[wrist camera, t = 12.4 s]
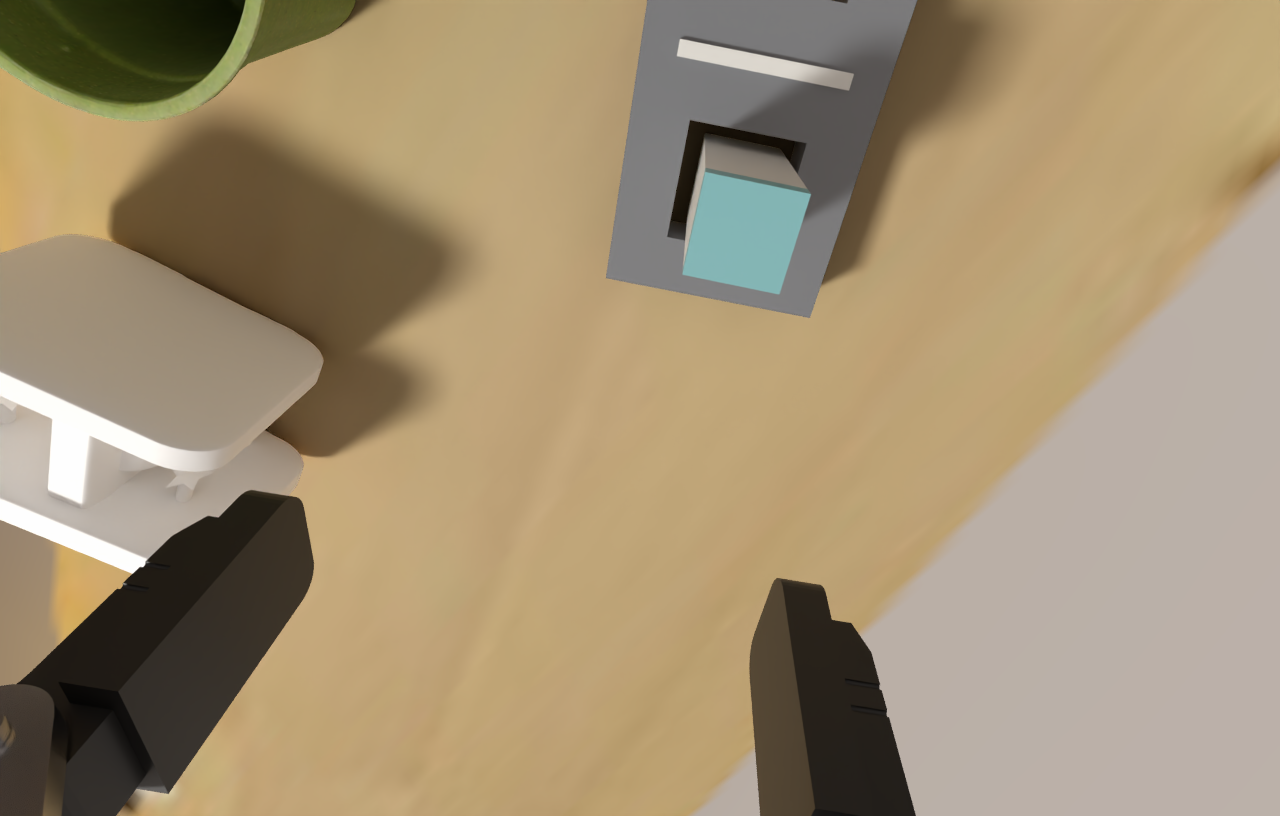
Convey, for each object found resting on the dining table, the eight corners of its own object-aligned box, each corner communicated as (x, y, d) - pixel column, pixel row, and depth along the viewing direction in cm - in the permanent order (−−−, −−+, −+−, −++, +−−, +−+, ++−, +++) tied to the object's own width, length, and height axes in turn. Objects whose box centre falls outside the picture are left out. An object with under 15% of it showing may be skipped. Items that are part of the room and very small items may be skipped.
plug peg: (704, 132, 29) (705, 172, 21) (779, 148, 29) (810, 194, 21) (687, 209, 31) (682, 274, 23) (758, 224, 31) (779, 294, 23)
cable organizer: (356, 352, 37) (228, 470, 27) (312, 473, 42) (191, 609, 32) (94, 219, 34) (-157, 296, 24) (80, 366, 39) (-132, 479, 29)
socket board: (696, -282, 22) (695, -326, 20) (970, -225, 22) (1007, -261, 20) (613, 258, 33) (605, 279, 30) (801, 295, 33) (810, 319, 30)
